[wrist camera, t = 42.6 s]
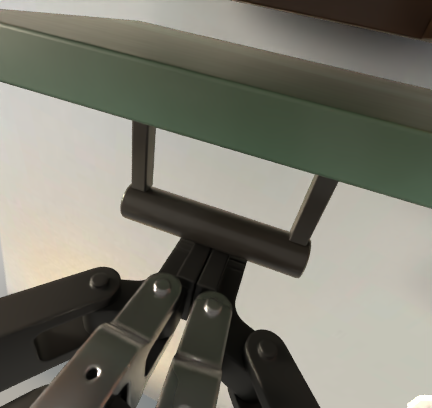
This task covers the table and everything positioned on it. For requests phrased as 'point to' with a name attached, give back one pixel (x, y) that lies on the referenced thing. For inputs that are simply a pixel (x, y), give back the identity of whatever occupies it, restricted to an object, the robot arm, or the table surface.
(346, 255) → the table surface
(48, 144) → the table surface
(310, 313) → the table surface
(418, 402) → the cup
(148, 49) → the drawer
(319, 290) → the table surface
